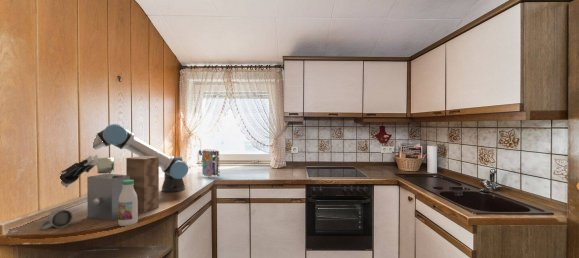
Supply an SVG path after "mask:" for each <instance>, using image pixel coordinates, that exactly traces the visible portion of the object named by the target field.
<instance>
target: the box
mask: <svg viewBox="0 0 579 258" xmlns="http://www.w3.org/2000/svg"><path fill="white" fill-rule="evenodd" d="M198 154H199V156H200V157H201V163H202V169H201V170H202V171H201V174H202V177H203V178H205V179H206V177H207V179H210V178H211V177H213V179H214V178H215V179H216V178H217V177H220V176H221V175H220V174H221V173H220V170H221V168H220V167H221V166H220V165H221V164H220V163H221V162H220V151H219V150H216V149H212V150H211V149H208V148H207V149H202V150H201V149H199V150H198Z"/></svg>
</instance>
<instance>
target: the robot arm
mask: <svg viewBox="0 0 579 258" xmlns="http://www.w3.org/2000/svg"><path fill="white" fill-rule="evenodd" d="M96 134H97V135H96ZM96 134H95V136H96V138H95V139H94V142H93V148H94V149H95V150H96V151H98V150H99V149H101V148H103V147H104V148H105V147H109V146H111V145H112V146H114V147H116V148H119V149H120V150H124V149H125V150H127V151H129V152H131V153H132V154H135V155H137V157H138V156H151V157H159V168H161V172H163V173H164V179H163V183H162V186H161V191H162V192H165V193H174V192H175V193H176V192H180V191H184V190H185V189H186V185H185V183H184V179H183V178H185V177H186V176H187V175H188V172H189V166H188V164H187V163H186V162H185V161H183V157H182V156H174V155H168V154H166V153H164V152H163V151H160V150H158V149H157V148H155V147H153V146H151V145H150V144H149V143H146V142H145V141H143V140H142V139H139V138H138V137H136V136H135V134H134V132H132V131H131V130H128V128H125V127H124V126H123V125H121V124H116V123H113V124H109V125H108V126H106V127H105V128H104V129H103V130H101V131H100V132H98V133H96ZM102 141H103V142H102ZM97 149H98V150H97ZM98 158H100V156H99V154H95V156H93V155H92V154H89V156H87V157H86V158H85V159H83V160H84V161H82V160H81V161H80V162H74V163H73V164H72V165H69V167H67V168H66V169H64V170H61V171H60V174H61V173H62V174H61V176H60V179H61V180H62V181H61V184H62V185H63V186H65V187H66V188H65V189H67V188H69V186H71V185H72V184H74V183H75V182H76V181H78V180H79V178H80V176H81V175H83V173H89V172H90V171H91V170H92V169H93V168H94V167H95V166H96V165H88V164H89V163H90V162H92V161H93V160H97V159H98Z"/></svg>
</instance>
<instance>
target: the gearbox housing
mask: <svg viewBox="0 0 579 258" xmlns="http://www.w3.org/2000/svg"><path fill="white" fill-rule="evenodd" d="M124 180H130V175H126V174H117V173H116V174H115V173H100V174H96V175H92V176H91V175H90V176H87V178H86V181H87V187H86V189H87V190H86V191H87V194H86V195H87V202H86V203H87V206H86V207H87V218H88V219H96V220H103V221H108V222H109V221H110V222H113V221H115V220H116V221H117V220H118V202H119V196H120V194H121V192H122V189H123V186H122V181H124Z"/></svg>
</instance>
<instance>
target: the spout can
mask: <svg viewBox="0 0 579 258" xmlns="http://www.w3.org/2000/svg"><path fill="white" fill-rule="evenodd" d="M84 160H85V159H81V162H82V161H84ZM88 165H95V166H97V167H96V168H97V172H96V174H113V173H114V172H115V157H99V158H98V159H97V160H93V161H92V162H90V163H89V164H88Z"/></svg>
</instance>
